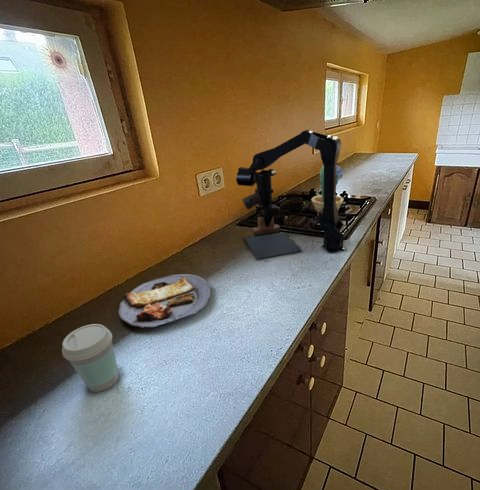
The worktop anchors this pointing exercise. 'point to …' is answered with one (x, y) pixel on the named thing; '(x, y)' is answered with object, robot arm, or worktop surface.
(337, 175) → the potted cactus
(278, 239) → the mat
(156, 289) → the food plate
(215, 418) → the worktop surface
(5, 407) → the worktop surface
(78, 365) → the coffee cup
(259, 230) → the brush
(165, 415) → the worktop surface
